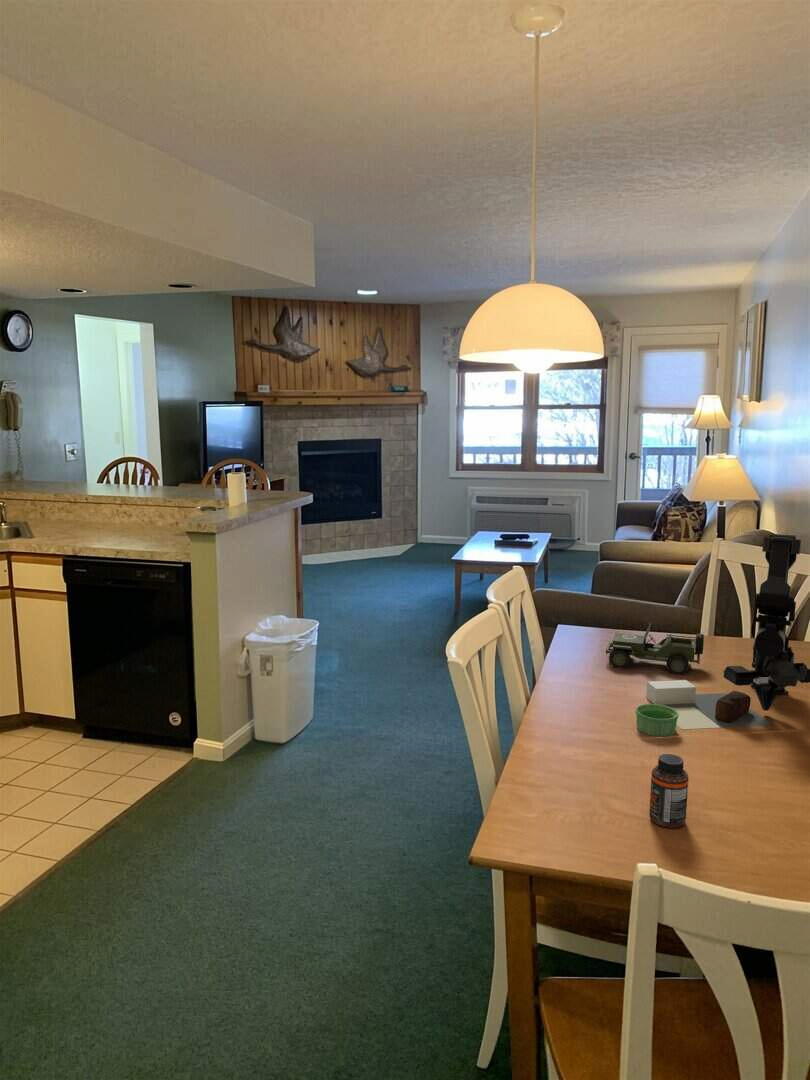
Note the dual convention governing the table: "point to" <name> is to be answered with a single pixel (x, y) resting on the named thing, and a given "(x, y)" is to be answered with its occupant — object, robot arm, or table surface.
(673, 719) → the ramekin
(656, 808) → the supplement bottle
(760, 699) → the robot arm
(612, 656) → the toy jeep
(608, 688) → the table surface
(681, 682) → the block
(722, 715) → the brick
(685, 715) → the grey mat
